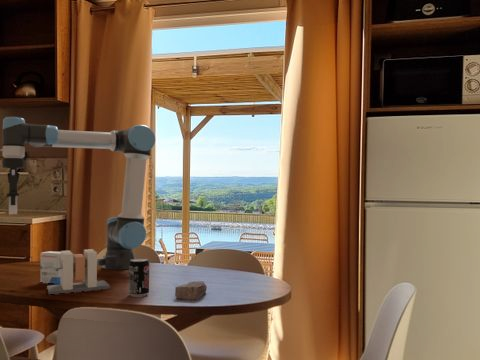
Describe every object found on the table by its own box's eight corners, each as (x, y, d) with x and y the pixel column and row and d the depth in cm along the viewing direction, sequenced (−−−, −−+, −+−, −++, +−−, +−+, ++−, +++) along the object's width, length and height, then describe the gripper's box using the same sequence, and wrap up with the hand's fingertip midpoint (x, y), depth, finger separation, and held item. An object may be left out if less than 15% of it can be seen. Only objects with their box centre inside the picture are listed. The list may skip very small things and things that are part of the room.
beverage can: (148, 292, 148) (149, 257, 148) (149, 297, 141) (149, 261, 142) (129, 293, 146) (129, 258, 147) (128, 298, 140) (128, 261, 140)
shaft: (113, 265, 161) (114, 255, 161) (116, 267, 157) (116, 256, 157) (60, 270, 152) (60, 258, 152) (61, 271, 148) (61, 260, 148)
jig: (104, 283, 162) (104, 248, 162) (109, 288, 153) (109, 251, 153) (46, 289, 152) (47, 251, 152) (49, 295, 143) (49, 255, 144)
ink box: (66, 282, 164) (67, 251, 164) (57, 284, 159) (57, 253, 160) (49, 280, 167) (49, 250, 167) (39, 283, 162) (39, 252, 163)
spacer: (81, 275, 157) (81, 253, 157) (84, 279, 150) (84, 256, 150) (72, 276, 155) (72, 254, 156) (75, 280, 148) (75, 257, 149)
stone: (183, 291, 150) (183, 278, 150) (208, 292, 148) (208, 279, 148) (172, 300, 138) (172, 285, 138) (199, 301, 137) (199, 287, 137)
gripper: (3, 159, 171) (3, 212, 170) (1, 155, 149) (0, 215, 148) (24, 160, 174) (23, 211, 174) (24, 155, 152) (24, 214, 152)
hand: (13, 213), depth 161 cm, fingers open, 13 cm apart
